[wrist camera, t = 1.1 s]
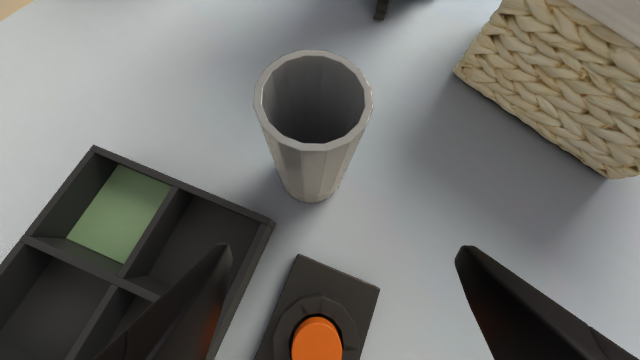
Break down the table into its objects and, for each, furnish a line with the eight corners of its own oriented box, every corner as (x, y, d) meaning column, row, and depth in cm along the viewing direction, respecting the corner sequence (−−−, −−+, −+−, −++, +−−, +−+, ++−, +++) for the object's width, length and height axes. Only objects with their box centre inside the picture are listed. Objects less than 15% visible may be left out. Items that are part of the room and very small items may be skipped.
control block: (335, 424, 19) (339, 455, 16) (245, 382, 20) (234, 404, 17) (376, 286, 22) (386, 291, 19) (298, 253, 23) (296, 253, 20)
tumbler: (328, 212, 24) (349, 169, 12) (270, 188, 24) (231, 123, 12) (349, 158, 26) (387, 72, 13) (295, 137, 26) (284, 35, 14)
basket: (658, 107, 30) (970, -23, 16) (615, 201, 26) (986, 140, 12) (493, 9, 34) (627, -166, 20) (433, 78, 30) (548, -81, 15)
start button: (329, 378, 18) (331, 391, 16) (285, 358, 18) (282, 369, 16) (345, 327, 19) (349, 334, 17) (303, 309, 19) (303, 314, 17)
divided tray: (179, 434, 18) (151, 475, 15) (-9, 340, 20) (-74, 358, 16) (276, 223, 23) (270, 218, 20) (122, 158, 25) (92, 144, 21)
